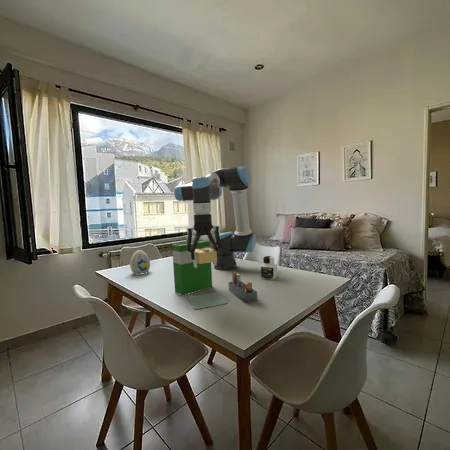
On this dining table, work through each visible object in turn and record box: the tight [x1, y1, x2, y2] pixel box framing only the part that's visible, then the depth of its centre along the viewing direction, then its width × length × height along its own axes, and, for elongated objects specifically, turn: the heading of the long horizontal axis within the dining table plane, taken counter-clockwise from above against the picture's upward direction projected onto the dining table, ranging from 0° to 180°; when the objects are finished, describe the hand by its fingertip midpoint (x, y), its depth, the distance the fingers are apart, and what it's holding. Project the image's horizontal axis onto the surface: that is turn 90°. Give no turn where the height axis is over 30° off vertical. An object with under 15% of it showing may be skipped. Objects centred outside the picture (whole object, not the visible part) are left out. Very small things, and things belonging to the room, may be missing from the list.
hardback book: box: [171, 239, 213, 296], centre depth 128 cm, size 18×7×24 cm, turn 130°
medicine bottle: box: [260, 255, 278, 281], centre depth 142 cm, size 7×7×12 cm
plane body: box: [228, 271, 258, 304], centre depth 117 cm, size 18×6×9 cm, turn 22°
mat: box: [187, 292, 228, 310], centre depth 113 cm, size 14×14×1 cm
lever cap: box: [195, 247, 217, 264], centre depth 111 cm, size 10×8×5 cm
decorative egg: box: [129, 249, 151, 275], centre depth 163 cm, size 12×12×15 cm
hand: (205, 265), depth 111 cm, fingers closed on lever cap, 8 cm apart
